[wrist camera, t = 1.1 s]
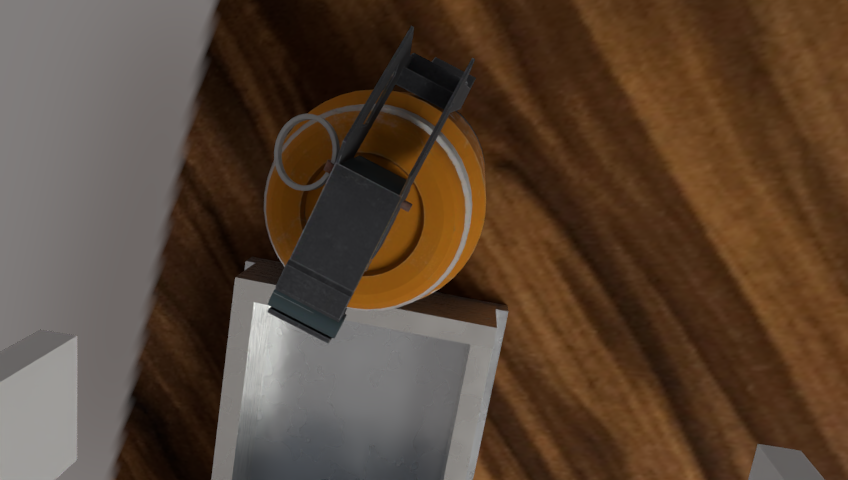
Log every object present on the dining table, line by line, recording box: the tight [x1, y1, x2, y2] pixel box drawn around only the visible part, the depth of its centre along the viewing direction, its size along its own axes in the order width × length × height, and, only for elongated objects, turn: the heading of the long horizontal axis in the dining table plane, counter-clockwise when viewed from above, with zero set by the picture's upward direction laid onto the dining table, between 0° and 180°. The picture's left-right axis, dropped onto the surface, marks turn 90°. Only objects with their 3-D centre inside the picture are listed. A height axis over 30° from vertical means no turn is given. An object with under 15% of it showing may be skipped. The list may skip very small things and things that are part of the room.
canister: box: [264, 26, 486, 344], centre depth 30 cm, size 9×11×20 cm
